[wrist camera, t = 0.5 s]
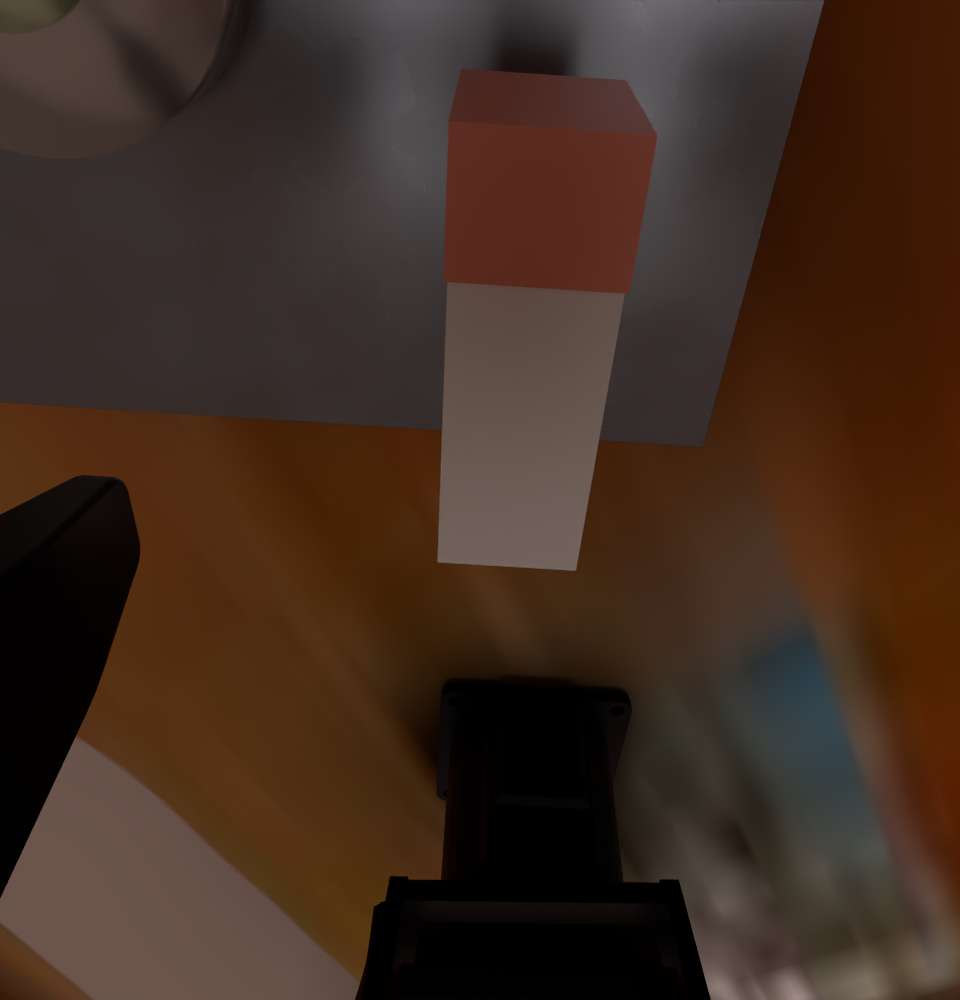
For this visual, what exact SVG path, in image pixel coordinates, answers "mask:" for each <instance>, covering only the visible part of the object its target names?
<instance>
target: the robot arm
mask: <svg viewBox="0 0 960 1000" xmlns="http://www.w3.org/2000/svg"><path fill="white" fill-rule="evenodd" d="M139 558H140V541H139V536H138V532H137V528H136V523H135V519H134V515H133V510H132V506H131V502H130V497H129V493H128V490H127V487H126V486H125V484H124V482H123V481H121V480H120V479H118V478H116V477H104V476H90V475H80V476H76V477H74V478H72V479H70V480H68V481H66V482H64V483H62V484H60V485H58V486H56V487H54V488H52V489H50V490H48V491H46V492H44V493H42V494H40V495H38V496H36V497H34V498H32V499H30V500H29V501H27V502H25V503H23V504H21V505H19V506H17V507H15V508H13V509H11V510H9V511H7V512H5V513H3V514H1V515H0V898H1V895H2V893H3V891H4V889H5V887H6V885H7V883H8V880H9V878H10V876H11V874H12V872H13V870H14V867H15V865H16V863H17V861H18V859H19V857H20V855H21V853H22V850H23V848H24V846H25V844H26V842H27V840H28V838H29V835H30V833H31V831H32V829H33V827H34V825H35V823H36V820H37V818H38V816H39V814H40V812H41V810H42V807H43V805H44V803H45V801H46V799H47V797H48V795H49V793H50V790H51V788H52V786H53V784H54V782H55V779H56V777H57V775H58V773H59V771H60V769H61V767H62V765H63V762H64V760H65V758H66V756H67V754H68V752H69V750H70V747H71V745H72V743H73V741H74V739H75V737H76V735H77V733H78V730H79V728H80V726H81V724H82V722H83V720H84V718H85V715H86V713H87V711H88V709H89V706H90V704H91V702H92V699H93V697H94V695H95V692H96V690H97V687H98V684H99V681H100V679H101V676H102V673H103V670H104V667H105V664H106V661H107V658H108V655H109V652H110V649H111V646H112V643H113V640H114V637H115V634H116V631H117V628H118V625H119V622H120V619H121V615H122V612H123V609H124V606H125V603H126V600H127V597H128V594H129V591H130V588H131V585H132V582H133V579H134V576H135V573H136V570H137V567H138V563H139ZM631 713H632V708H631V701H630V698H629V697H628V696H627V695H626V694H624V693H619V692H603V691H587V690H570V689H553V688H536V687H519V686H502V685H485V684H469V683H450V684H447V685H445V686H444V687H443V689H442V691H441V706H440V728H439V751H438V774H437V796H438V797H439V798H440V799H442V800H445V801H446V813H445V828H444V843H443V858H442V873H441V880H409V879H408V876H390V879H389V885H388V890H387V895H386V900H385V901H384V902H380V904H378V905H376V906H374V910H373V918H372V925H371V933H370V941H369V948H368V954H367V959H366V964H365V968H364V972H363V975H362V979H361V982H360V985H359V989H358V992H357V995H356V998H355V1000H711V999H710V995H709V992H708V988H707V984H706V980H705V977H704V973H703V969H702V965H701V962H700V958H699V954H698V950H697V946H696V943H695V939H694V935H693V931H692V928H691V924H690V920H689V916H688V913H687V909H686V905H685V901H684V898H683V894H682V890H681V886H680V883H679V880H671V879H660V882H659V883H649V882H623V873H622V864H621V856H620V847H619V838H618V830H617V821H616V812H615V804H614V795H613V786H612V782H613V779H614V775H615V771H616V768H617V764H618V760H619V757H620V753H621V749H622V746H623V742H624V738H625V735H626V731H627V728H628V724H629V720H630V717H631Z"/></svg>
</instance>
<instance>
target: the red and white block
mask: <svg viewBox="0 0 960 1000" xmlns="http://www.w3.org/2000/svg"><path fill="white" fill-rule="evenodd" d="M657 138H658V135H657V133H656V131H655V130H654V128H653V126H652V124H651V123H650V121H649V119H648V117H647V116H646V114H645V112H644V111H643V109H642V107H641V105H640V104H639V102H638V100H637V99H636V97H635V95H634V93H633V92H632V90H631V88H630V86H629V85H628V83H627V81H626V80H617V79H602V78H588V77H574V76H559V75H545V74H531V73H517V72H502V71H488V70H474V69H461V71H460V75H459V79H458V84H457V88H456V92H455V96H454V100H453V104H452V108H451V113H450V117H449V121H448V152H447V183H446V215H445V246H444V278H443V282H447V304H446V333H445V362H444V391H443V419H442V448H441V477H440V506H439V534H438V562H441V563H458V564H474V565H490V566H507V567H523V568H539V569H555V570H572V571H576V567H577V561H578V556H579V550H580V544H581V539H582V533H583V527H584V522H585V516H586V510H587V505H588V499H589V493H590V488H591V482H592V477H593V471H594V465H595V460H596V454H597V448H598V443H599V437H600V431H601V426H602V420H603V414H604V409H605V403H606V397H607V392H608V386H609V381H610V375H611V369H612V364H613V358H614V352H615V347H616V341H617V335H618V330H619V324H620V318H621V313H622V307H623V301H624V296H625V294H629V293H630V287H631V282H632V276H633V271H634V265H635V259H636V254H637V248H638V243H639V237H640V232H641V226H642V221H643V215H644V210H645V204H646V199H647V193H648V187H649V182H650V176H651V171H652V165H653V160H654V154H655V149H656V143H657Z"/></svg>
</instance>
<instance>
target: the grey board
mask: <svg viewBox="0 0 960 1000" xmlns="http://www.w3.org/2000/svg"><path fill="white" fill-rule="evenodd" d="M823 4H824V0H0V402H5V403H21V404H37V405H52V406H68V407H84V408H99V409H115V410H131V411H147V412H162V413H178V414H194V415H209V416H225V417H241V418H256V419H272V420H288V421H304V422H319V423H335V424H351V425H366V426H382V427H398V428H414V429H429V430H442V419H443V391H444V362H445V333H446V304H447V282H443V278H444V246H445V215H446V183H447V152H448V121H449V117H450V113H451V108H452V104H453V100H454V96H455V92H456V88H457V84H458V79H459V75H460V71H461V69H474V70H488V71H502V72H517V73H531V74H545V75H559V76H574V77H588V78H602V79H617V80H626V81H627V83H628V85H629V86H630V88H631V90H632V92H633V93H634V95H635V97H636V99H637V100H638V102H639V104H640V105H641V107H642V109H643V111H644V112H645V114H646V116H647V117H648V119H649V121H650V123H651V124H652V126H653V128H654V130H655V131H656V133H657V135H658V138H657V143H656V149H655V154H654V160H653V165H652V171H651V176H650V182H649V187H648V193H647V199H646V204H645V210H644V215H643V221H642V226H641V232H640V237H639V243H638V248H637V254H636V259H635V265H634V271H633V276H632V282H631V287H630V293H629V294H625V296H624V301H623V307H622V313H621V318H620V324H619V330H618V335H617V341H616V347H615V352H614V358H613V364H612V369H611V375H610V381H609V386H608V392H607V397H606V403H605V409H604V414H603V420H602V426H601V431H600V437H599V440H602V441H618V442H633V443H649V444H665V445H681V446H696V447H703V444H704V440H705V436H706V433H707V429H708V425H709V422H710V418H711V414H712V411H713V407H714V403H715V400H716V396H717V392H718V389H719V385H720V381H721V378H722V374H723V370H724V367H725V363H726V359H727V356H728V352H729V348H730V345H731V341H732V337H733V334H734V330H735V326H736V323H737V319H738V315H739V312H740V308H741V304H742V301H743V297H744V293H745V290H746V286H747V282H748V279H749V275H750V271H751V268H752V264H753V260H754V257H755V253H756V249H757V246H758V242H759V238H760V235H761V231H762V227H763V224H764V220H765V216H766V213H767V209H768V205H769V202H770V198H771V194H772V191H773V187H774V183H775V180H776V176H777V172H778V169H779V165H780V161H781V158H782V154H783V150H784V147H785V143H786V139H787V136H788V132H789V128H790V125H791V121H792V117H793V114H794V110H795V106H796V103H797V99H798V95H799V92H800V88H801V84H802V81H803V77H804V73H805V70H806V66H807V62H808V59H809V55H810V51H811V48H812V44H813V40H814V37H815V33H816V29H817V26H818V22H819V18H820V15H821V11H822V7H823Z"/></svg>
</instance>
